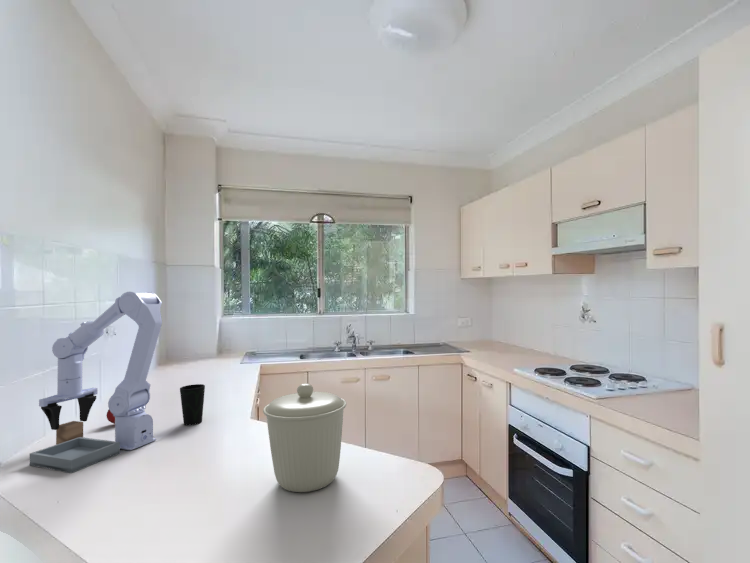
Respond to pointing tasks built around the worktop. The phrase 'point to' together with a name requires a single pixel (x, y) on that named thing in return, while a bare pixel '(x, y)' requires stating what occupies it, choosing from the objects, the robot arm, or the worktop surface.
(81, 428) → the block
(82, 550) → the worktop surface
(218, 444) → the worktop surface
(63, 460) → the tray
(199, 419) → the cup
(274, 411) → the canister
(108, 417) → the pomegranate
